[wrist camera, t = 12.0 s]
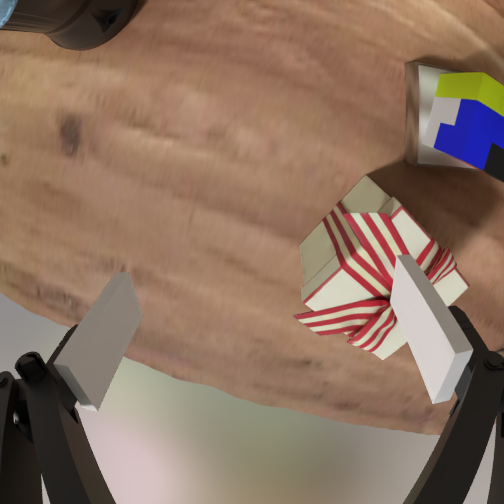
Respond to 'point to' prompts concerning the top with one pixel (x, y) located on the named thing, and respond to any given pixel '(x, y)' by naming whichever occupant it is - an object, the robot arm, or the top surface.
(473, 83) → the puzzle toy
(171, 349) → the top surface
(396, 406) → the top surface
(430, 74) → the stand
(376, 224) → the gift box
